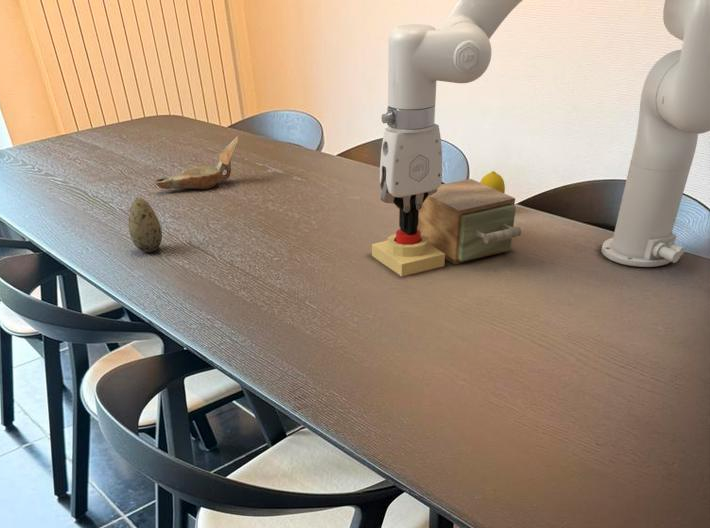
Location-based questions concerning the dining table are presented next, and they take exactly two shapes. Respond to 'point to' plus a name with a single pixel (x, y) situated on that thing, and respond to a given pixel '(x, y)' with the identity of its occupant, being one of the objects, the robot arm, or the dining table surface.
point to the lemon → (494, 181)
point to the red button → (407, 237)
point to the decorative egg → (144, 226)
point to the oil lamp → (201, 173)
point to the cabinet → (455, 213)
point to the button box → (408, 256)
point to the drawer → (487, 232)
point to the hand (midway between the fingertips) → (408, 231)
